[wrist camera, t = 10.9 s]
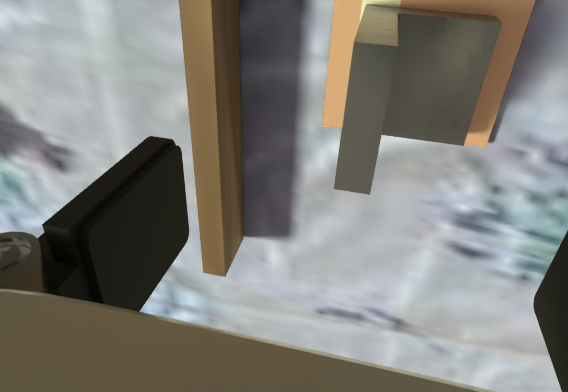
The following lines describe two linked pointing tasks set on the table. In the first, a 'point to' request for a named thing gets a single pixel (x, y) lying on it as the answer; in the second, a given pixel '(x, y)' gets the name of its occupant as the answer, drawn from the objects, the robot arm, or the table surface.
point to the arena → (215, 125)
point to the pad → (501, 3)
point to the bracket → (411, 83)
